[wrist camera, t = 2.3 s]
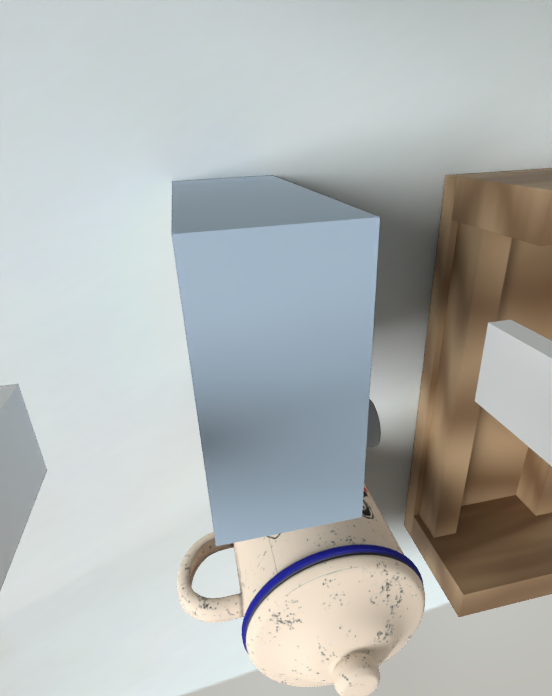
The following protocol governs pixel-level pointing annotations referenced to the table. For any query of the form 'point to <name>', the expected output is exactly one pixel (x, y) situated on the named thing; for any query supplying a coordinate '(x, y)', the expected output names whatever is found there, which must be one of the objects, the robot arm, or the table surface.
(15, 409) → the robot arm
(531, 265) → the track
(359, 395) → the blue box with knob
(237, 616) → the teacup with lid
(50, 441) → the table surface
